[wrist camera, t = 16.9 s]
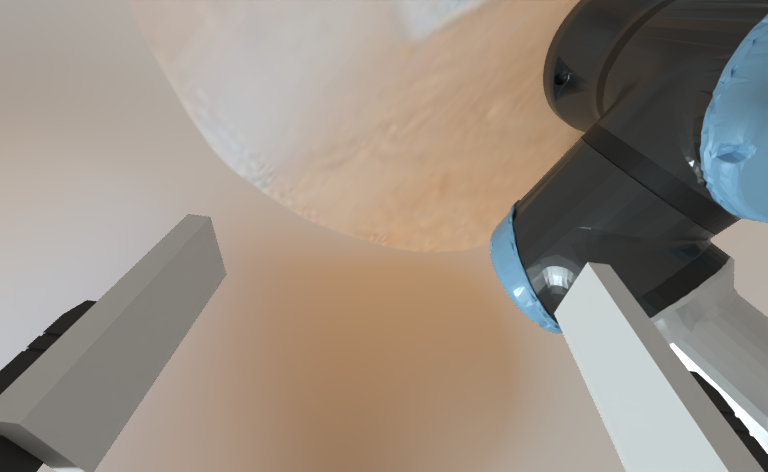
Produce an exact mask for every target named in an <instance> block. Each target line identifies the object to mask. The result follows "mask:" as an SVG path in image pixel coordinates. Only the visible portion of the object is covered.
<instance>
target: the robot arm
mask: <svg viewBox="0 0 768 472" xmlns="http://www.w3.org/2000/svg"><path fill="white" fill-rule="evenodd" d="M543 84H544V91H545V95H546V99H547V101H548V103H549V105H550V107H551V109H552V110H553V111H554V113H555V114H556V115H557V116H558V117H559V118H561V119H562V120H563V121H564V122H566V123H567V124H568V125H570V126H571V127H573V128H575V129H578V130H580V131H583V132H586V133H585V134H584V135H583V136H582V137H581V138H580V139H579V140H578V141H577V142H576V143H575V144H574V145H573V146H572V147H571V148H570V149H569V150H568V151H567V152H566V153H565V154H564V156H563V157H562V158H561V159H560V160H559V161H558V162H557V163H556V164H555V165H554V166H553V167H552V168H551V169H550V170H549V171H548V172H547V173H546V174H545V175H544V176H543V177H542V178H541V179H540V181H539V182H538V183H537V184H536V185H535V186H534V187H533V188H532V189H531V190H530V191H529V192H528V193H527V194H526V195H525V196H524V197H523V198H522V199H521V200H518V201H517V202H515V203H514V205H513V206H512V208H511V210H510V212H509V213H508V214H507V216H506V217H505V218H504V219H503V220H502V221H501V223H500V224H499V225H498V226H497V227H496V228H495V230H494V231H493V233H492V236H491V239H490V251H491V254H490V256H491V261H492V264H493V267H494V270H495V272H496V275H497V277H498V279H499V281H500V283H501V284H502V286H503V288H504V289H505V291H506V292H507V294H508V295H509V297H510V298H511V299H512V301H513V302H514V303H515V304H516V306H518V308H519V309H520V310H521V311H522V312H523V313H524V314H525V315H526V316H527V317H528V318H529V319H531V320H532V321H534V322H538V323H539V325H540V327H541V328H543V329H545V330H547V331H549V332H552V333H563V334H564V336H565V339H566V341H567V343H568V345H569V348H570V350H571V352H572V354H573V356H574V359H575V361H576V363H577V365H578V367H579V369H580V372H581V374H582V376H583V378H584V381H585V382H586V385H587V387H588V389H589V391H590V394H591V396H592V398H593V400H594V402H595V404H596V407H597V409H598V411H599V413H600V415H601V418H602V420H603V422H604V424H605V426H606V429H607V431H608V433H609V435H610V438H611V440H612V442H613V444H614V446H615V448H616V451H617V453H618V455H619V457H620V459H621V462H622V464H623V466H624V468H625V470H626V472H768V318H767V317H766V316H765V315H764V314H763V313H761V312H760V311H759V310H757V309H756V308H755V307H754V306H752V305H751V304H750V303H749V302H747V301H746V300H745V299H743V298H742V297H741V296H740V295H738V293H737V292H736V290H735V289H734V259H733V258H731V257H730V256H729V255H727V254H726V253H725V252H723V251H722V250H721V249H719V248H718V247H716V246H715V245H714V244H713V243H711V242H710V239H711V238H712V237H713V236H715V235H717V234H718V233H720V232H721V231H723V230H724V229H726V228H727V227H729V226H731V225H732V224H733V223H735V222H737V221H739V220H740V219H749V220H753V221H760V222H765V223H768V0H581V1H579V3H578V4H577V5H576V6H575V7H574V8H573V9H572V10H571V12H570V13H569V14H568V15H567V17H566V18H565V19H564V21H563V22H562V24H561V25H560V27H559V29H558V30H557V32H556V34H555V36H554V38H553V40H552V42H551V45H550V47H549V50H548V53H547V56H546V61H545V66H544V73H543ZM225 276H226V271H225V268H224V264H223V260H222V257H221V253H220V250H219V246H218V243H217V239H216V236H215V232H214V228H213V225H212V221H211V218H210V217H207V216H199V215H190V214H188V215H187V216H186V217H185V218H184V219H183V220H182V221H180V222H179V224H177V225H176V226H175V227H174V228H173V229H172V230H171V231H170V232H169V233H168V234H167V235H166V236H165V237H164V238H163V239H162V240H161V241H160V242H159V243H158V244H157V245H156V246H154V247H153V248H152V249H151V251H150V252H148V253H147V254H146V255H145V256H144V257H143V258H142V259H141V260H140V261H139V262H138V263H137V264H136V265H135V266H134V267H133V268H132V269H131V270H130V271H129V272H128V273H126V274H125V275H124V276H123V277H122V278H121V279H120V280H119V281H118V282H117V283H116V284H115V285H114V286H113V287H112V288H111V289H110V290H109V291H108V292H107V293H106V294H105V295H104V296H102V298H100V299H99V300H98V301H88V300H87V301H85V302H83V303H82V304H80V305H78V306H76V307H75V308H73V309H71V310H70V311H68V312H66V313H64V314H63V315H62V316H61V317H59V319H57V320H56V321H55V322H54V323H53V324H52V325H51V326H49V328H47V329H46V330H45V331H44V332H43V335H42V336H38V337H37V338H36V339H35V340H34V341H33V342H32V343H31V344H30V345H29V346H27V349H26V351H22V352H21V353H20V354H18V355H17V356H16V357H15V358H14V359H13V360H12V361H11V362H10V363H9V364H7V365H6V366H5V367H4V368H3V369H2V370H1V371H0V472H37V471H38V469H39V468H40V467H41V465H42V464H43V463H44V464H46V465H47V466H49V467H50V468H52V469H54V470H55V471H57V472H94V471H95V469H96V468H97V466H98V465H99V463H100V462H101V460H102V459H103V457H104V456H105V455H106V453H107V452H108V450H109V449H110V447H111V446H112V444H113V442H114V441H115V440H116V438H117V436H118V435H119V434H120V432H121V431H122V429H123V428H124V426H125V425H126V423H127V422H128V420H129V419H130V417H131V416H132V414H133V413H134V411H135V410H136V408H137V407H138V405H139V404H140V402H141V401H142V399H143V398H144V396H145V395H146V393H147V392H148V390H149V389H150V387H151V386H152V384H153V383H154V382H155V380H156V379H157V377H158V376H159V374H160V373H161V371H162V369H163V368H164V367H165V365H166V364H167V362H168V361H169V359H170V358H171V356H172V355H173V353H174V352H175V350H176V349H177V347H178V346H179V344H180V343H181V341H182V340H183V338H184V337H185V335H186V334H187V332H188V331H189V329H190V328H191V326H192V325H193V323H194V322H195V320H196V319H197V318H198V316H199V314H200V313H201V312H202V310H203V309H204V307H205V305H206V304H207V303H208V301H209V300H210V298H211V297H212V295H213V294H214V292H215V291H216V289H217V288H218V286H219V285H220V283H221V282H222V280H223V279H224V277H225Z"/></svg>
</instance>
